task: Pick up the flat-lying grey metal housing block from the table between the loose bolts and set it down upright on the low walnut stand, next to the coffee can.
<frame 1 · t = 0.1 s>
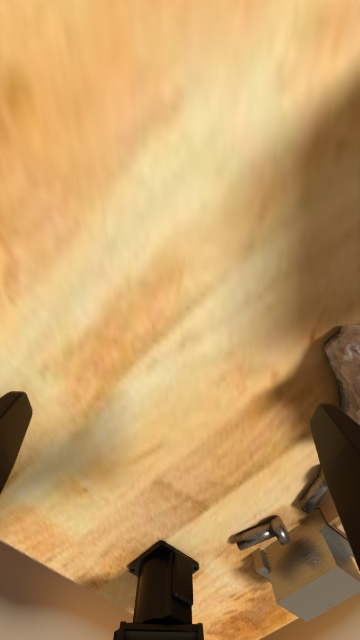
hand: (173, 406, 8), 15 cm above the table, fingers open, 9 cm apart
housing: (300, 542, 32), on the table
bolt a: (313, 485, 30), on the table
bolt b: (255, 528, 32), on the table
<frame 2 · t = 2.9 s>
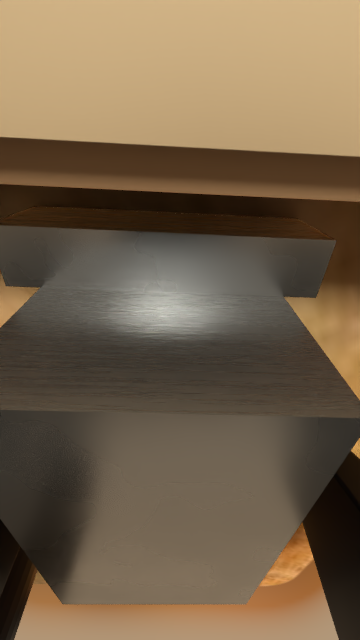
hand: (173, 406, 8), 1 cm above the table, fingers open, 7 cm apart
housing: (164, 368, 9), on the table
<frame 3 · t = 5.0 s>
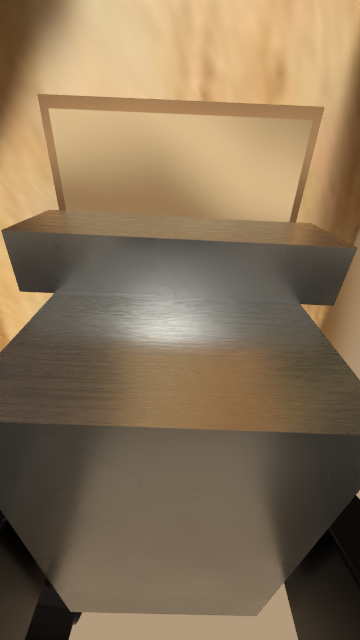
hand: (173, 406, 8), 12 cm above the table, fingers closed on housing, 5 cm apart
housing: (174, 373, 9), point 10 cm above the table, touching gripper
stand: (178, 215, 16), on the table
when the fingers open (5 cm above the table, at t = 6.7 s): housing stays where it is, resting on stand.
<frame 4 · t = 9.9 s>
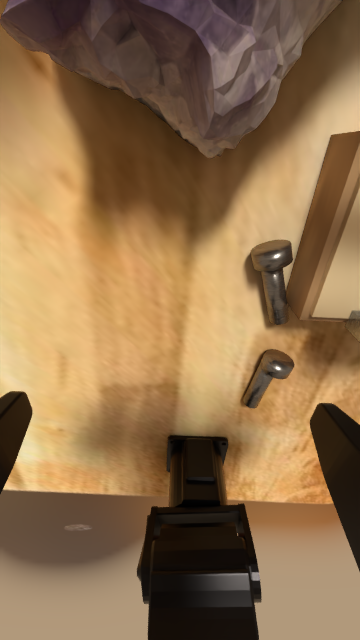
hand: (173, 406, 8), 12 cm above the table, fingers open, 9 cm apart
bolt a: (271, 286, 19), on the table
bolt b: (253, 378, 24), on the table, tilted 41°
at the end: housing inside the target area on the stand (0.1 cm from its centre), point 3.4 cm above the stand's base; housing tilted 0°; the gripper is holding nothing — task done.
